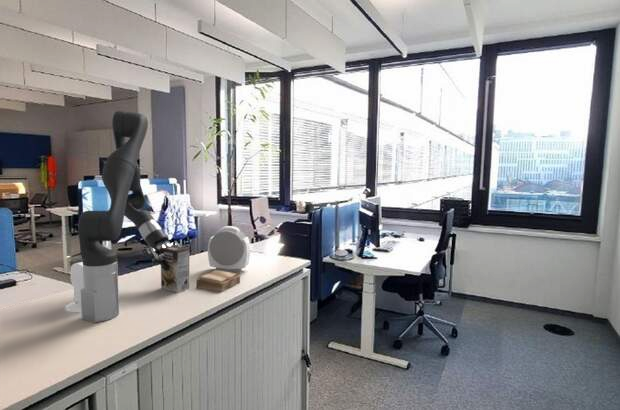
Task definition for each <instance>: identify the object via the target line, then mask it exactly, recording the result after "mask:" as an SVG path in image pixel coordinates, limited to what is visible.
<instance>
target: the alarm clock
mask: <svg viewBox="0 0 620 410" xmlns="http://www.w3.org/2000/svg"><path fill="white" fill-rule="evenodd" d="M250 255H251V241H250V239H249V236H246V234H245V233H244V232H243V231H242V230H240V228H238V227H237V226H232V225H228V226H227V225H226V226H223V227H221V228H219V229H218V231H217V232H216V233H215V234H214V235H213V236H211V237H210V238H209V240H208V244H207V258H208V262H209V263H208V264H209V267H213V268H215V270H219V271H225V272H231V273H236V274H239V273H240V272H241V271H242V270H243V269H245V268H247V267H248V265H249V262H250Z"/></svg>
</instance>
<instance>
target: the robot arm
mask: <svg viewBox="0 0 620 410" xmlns="http://www.w3.org/2000/svg"><path fill="white" fill-rule="evenodd" d="M148 121H149V120H148V118H147V116H146V115H144V114H143V113H139V112H131V111H125V110H117V111H114V114H113V116H112V125H111V126H112V133H113V138H114V143H115V144H114V145H115V150H114V151H113V152H111V153H110V154H109V155H108V156H107V158H106V160H105V162H104V165H103V168H102V173H101V180H102V183H103V185H104V188H105V189H106V191H107V193H108V195H109V198H110V206H109V209H108V210H85V211H83V212H82V213H81V214H80V216H79V218H78V222H77V224H78V225H77V229H78V230H77V231H78V240H79V250H80V252H79V253H80V256H81V259H82V260H83V280H84V288H83V289H81V308H82V312H81V320H84V321H88V322H91V323H95V324H96V323H99V322H103V321H108V320H111V319H113V318H115V317H116V318H117V316H118V315H119V314H120V305H119V303H120V302H119V301H120V299H119V274H118V270H119V268H118V253H117V252H116V251H115V250H113V249H110V248H108V247H105V246H104V245H103V244H101V243H100V242H112V241H116V240H118V239H119V237H120V235H121V232H122V229H123V225H124V219H125V218H127V219H128V220H129V221H130V222H132V223H133V224H134V226H135V227H136V228H137V230H138V231H139V233H140V235H141V237H142V238H143V240H144V242H146V244H147V246H148V247H149V248H148V249H147V250H146V255H148V257H149V259H150V260H151V262H152V263H153V264H158V265H160V268H161V267H162V268H163V269H164V270H165V271H168V270H169V269H170V267H169V265H168V264H167V262H166V261H165V260H164V255H165V254H164V253H163V251H162V250H161V249H160V248H164V247H167V246H172V245H174V246H180V247H182V246H181V245H180V244H179V243H178V241H177V240H174V241H173V242H170V241H169V236H168V235H167V233H166V232H165V231H164V230H163V228H162V227H161V225H160V223H158V222H157V220H156V219H155V218H154V217H153V215H152V214H151V213H150V212H149V211H148V210H147V209H146V210H145V209H143V208H144V207H146V206H145V205H146V198H145V195H144V192H143V189H142V186H141V168H140V166H139V163H138V158H139V154H140V152H141V149H142V146H143V144H144V143H143V142H144V141H145V139H146V134H147V131H148V125H149V124H148V123H149V122H148ZM126 138H128V140H127V141H126ZM129 192H131V193H129Z"/></svg>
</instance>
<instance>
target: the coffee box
mask: <svg viewBox="0 0 620 410" xmlns="http://www.w3.org/2000/svg"><path fill="white" fill-rule="evenodd" d="M180 246H181V245H180ZM180 246H174V245H172V246H167V247H164V248H160V249H161V250H162V251H163V253H164V254H165V255H164V260H165V261H166V262H167V264H168V265H169V267H170V269H169V270H168V271H165V270H164V269H163V268H162V267H161V266H160V278H161V279H160V286H161V287H160V288H161V289H162V290H167V291H168V292H173V293H177V294H178V293H181V292H185V291H186V290H190V257H191V256H190V250H191V249H190V248H188V247H183V246H181V247H180Z"/></svg>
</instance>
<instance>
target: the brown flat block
mask: <svg viewBox="0 0 620 410" xmlns="http://www.w3.org/2000/svg"><path fill="white" fill-rule="evenodd" d="M238 283H239V284H240V283H241V276H240V275H238V273H234V272H225V271H219V270H216V269H215V270H212V271H211V272H208V273H205V274H202V275H201V276H199V278H198V279H196V288H199V289H205V290H210V291H215V292H219V293H223V292H225V291H226V290H228V289H231V288H233V287H235V286H236V284H237V285H239V284H238Z"/></svg>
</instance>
